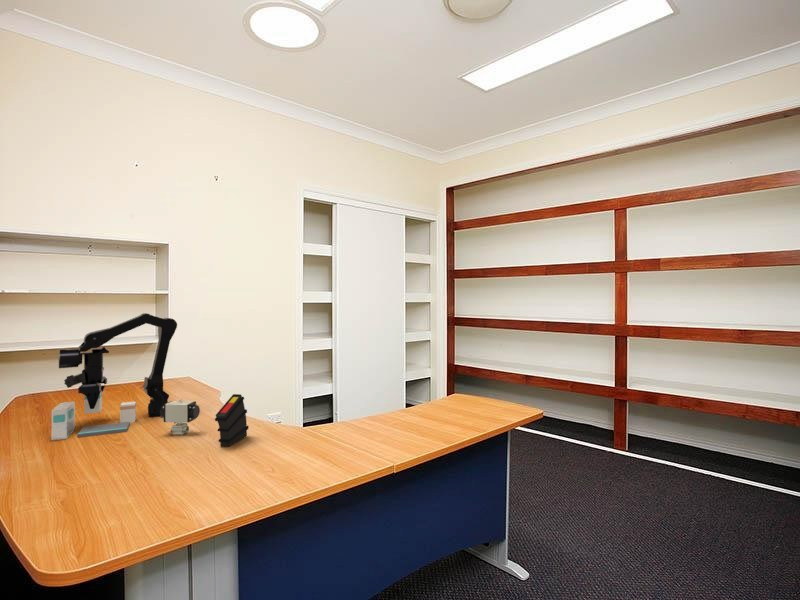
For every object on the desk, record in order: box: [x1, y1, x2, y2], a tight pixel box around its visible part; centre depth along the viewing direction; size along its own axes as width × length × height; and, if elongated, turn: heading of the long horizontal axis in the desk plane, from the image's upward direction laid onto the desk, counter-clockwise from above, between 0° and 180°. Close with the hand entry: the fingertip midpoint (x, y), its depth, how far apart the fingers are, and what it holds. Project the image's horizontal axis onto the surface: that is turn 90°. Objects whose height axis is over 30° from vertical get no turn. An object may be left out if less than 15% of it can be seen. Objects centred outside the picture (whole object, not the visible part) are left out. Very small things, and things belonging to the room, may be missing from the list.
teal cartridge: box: [84, 391, 103, 415], centre depth 158 cm, size 5×5×7 cm
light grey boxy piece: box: [119, 401, 137, 424], centre depth 162 cm, size 5×5×7 cm
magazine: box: [214, 393, 249, 448], centre depth 139 cm, size 4×13×15 cm, turn 169°
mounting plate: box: [77, 422, 131, 438], centre depth 150 cm, size 14×10×1 cm
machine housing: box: [51, 401, 76, 441], centre depth 146 cm, size 4×12×10 cm, turn 27°
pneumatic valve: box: [159, 398, 201, 436], centre depth 147 cm, size 6×12×12 cm, turn 89°
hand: (93, 407), depth 158 cm, fingers closed on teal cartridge, 5 cm apart
